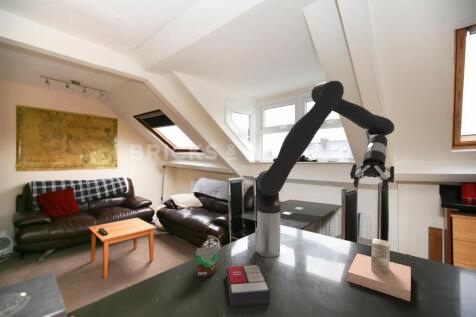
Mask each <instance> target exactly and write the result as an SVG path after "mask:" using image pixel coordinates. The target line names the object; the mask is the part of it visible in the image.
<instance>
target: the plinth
mask: <svg viewBox="0 0 476 317" xmlns="http://www.w3.org/2000/svg"><path fill="white" fill-rule="evenodd" d="M411 271H412V267H411V266H407V265H403V264H400V263H396V262H393V261H389V272H388V275H387V274H384V273H380V272H377V271H373V270H371V256H369V255H365V254H361V253H356V255H355V257H354V259H353V261H352V262H351V264H350V266H349V269H348V271H347V282H350V283H353V284H355V285H359V286H362V287H363V288H368V289H371V290H374V291H378V292H381V293H383V294H386V295H388V296H393V297H396V298H398V299H401V300H405V301H407V302H411V291H412V290H411V289H412V288H411V287H412V284H411V282H412V281H411V280H412V279H411V278H412V277H411V276H412V275H411Z"/></svg>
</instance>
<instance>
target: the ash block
mask: <svg viewBox="0 0 476 317" xmlns="http://www.w3.org/2000/svg"><path fill="white" fill-rule="evenodd" d="M390 247H391V241H389V240H384V239H379V238H373V239H372V242H371V256H370V257H371V270H373V271H377V272H380V273H384V274H387V275H388V272H389V262H390V250H391V248H390Z"/></svg>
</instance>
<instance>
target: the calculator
mask: <svg viewBox="0 0 476 317" xmlns="http://www.w3.org/2000/svg"><path fill="white" fill-rule="evenodd" d="M226 283H227V291H228V296H229V297H228V298H229V303H230V307H232V306H233V307H244V306H255V305H267V304H270V303H271V290H270V288H269V285H268V283H267V281H266V279H265V276H264V275H263V272H262V270H261V268H260V266H259V265H258V264H256V265H253V264H252V265H244V266H242V265H237V266H235V265H234V266H228V267H226Z"/></svg>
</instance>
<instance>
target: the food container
mask: <svg viewBox="0 0 476 317" xmlns="http://www.w3.org/2000/svg"><path fill="white" fill-rule="evenodd" d="M220 249H221V243H220V240H219V238H218V237H216V236H214V235H209V234H208V235H207V238H206V240H205V241H204V242H202V243H201V246H200V247H197V248H196V252H195V256H196V264H197V265H196V266H197V277H198V278H205V277H210V276H212V275H214V274H215V273H217V271H218V261H219V260H218V259H219V251H220Z"/></svg>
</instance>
